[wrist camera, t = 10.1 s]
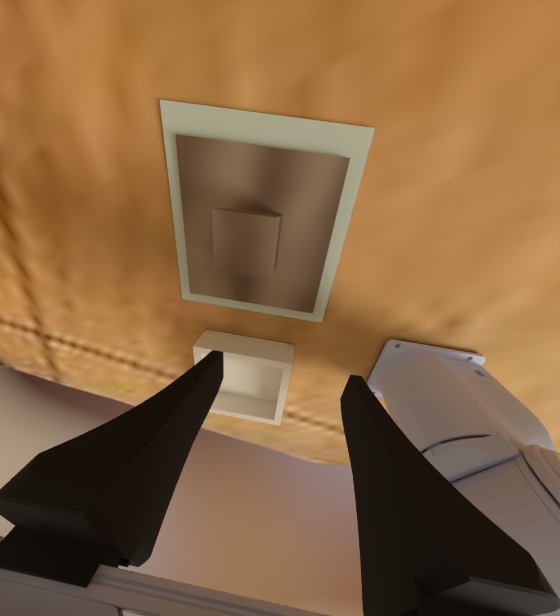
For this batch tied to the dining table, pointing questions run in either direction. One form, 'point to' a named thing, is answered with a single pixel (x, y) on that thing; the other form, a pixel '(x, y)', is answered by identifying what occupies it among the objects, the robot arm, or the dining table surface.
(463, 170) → the dining table surface
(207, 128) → the beige flat square piece
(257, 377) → the white square tray
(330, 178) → the lid
